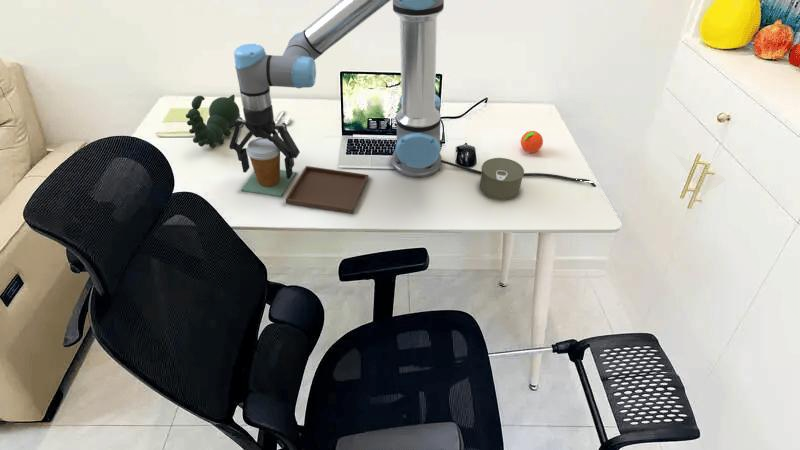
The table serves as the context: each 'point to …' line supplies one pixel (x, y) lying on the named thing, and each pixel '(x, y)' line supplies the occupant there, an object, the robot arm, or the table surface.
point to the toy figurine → (213, 120)
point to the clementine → (531, 141)
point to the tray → (328, 189)
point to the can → (501, 178)
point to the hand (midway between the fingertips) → (268, 173)
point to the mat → (274, 190)
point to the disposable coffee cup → (265, 161)
